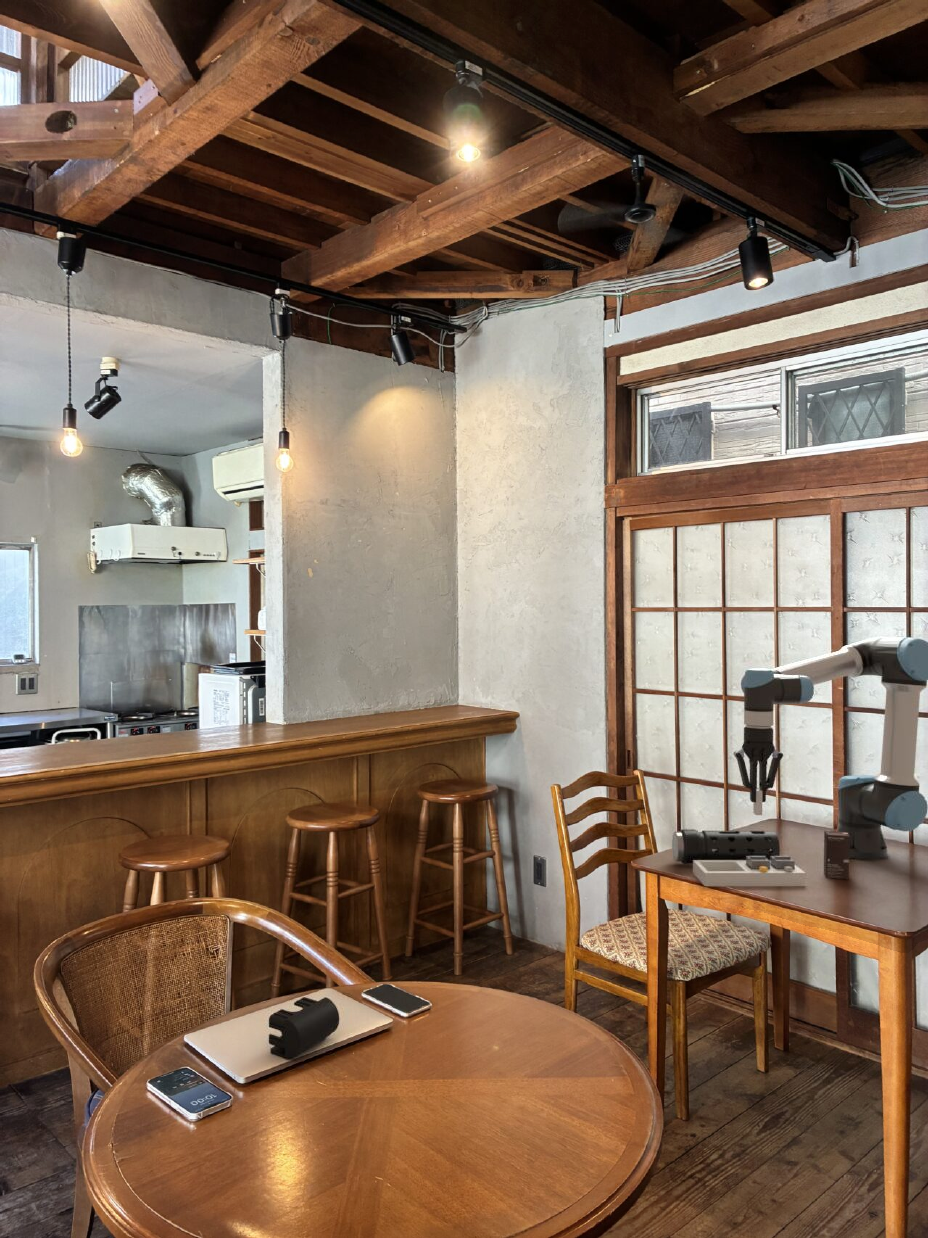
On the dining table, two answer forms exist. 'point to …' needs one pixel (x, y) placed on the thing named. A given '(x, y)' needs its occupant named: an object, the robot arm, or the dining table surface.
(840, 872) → the box
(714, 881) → the grey compartment tray
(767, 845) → the muzzle brake
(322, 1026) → the end cap
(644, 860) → the dining table surface
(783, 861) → the button
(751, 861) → the button
